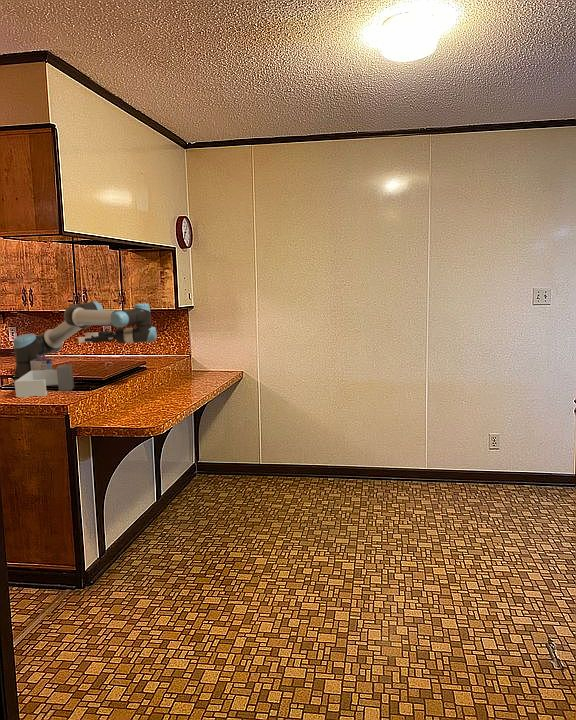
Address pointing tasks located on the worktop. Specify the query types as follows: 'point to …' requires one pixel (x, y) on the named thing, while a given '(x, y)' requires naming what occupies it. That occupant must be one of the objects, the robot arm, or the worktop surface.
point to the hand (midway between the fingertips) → (81, 337)
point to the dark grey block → (65, 377)
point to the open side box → (35, 383)
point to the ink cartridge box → (41, 364)
